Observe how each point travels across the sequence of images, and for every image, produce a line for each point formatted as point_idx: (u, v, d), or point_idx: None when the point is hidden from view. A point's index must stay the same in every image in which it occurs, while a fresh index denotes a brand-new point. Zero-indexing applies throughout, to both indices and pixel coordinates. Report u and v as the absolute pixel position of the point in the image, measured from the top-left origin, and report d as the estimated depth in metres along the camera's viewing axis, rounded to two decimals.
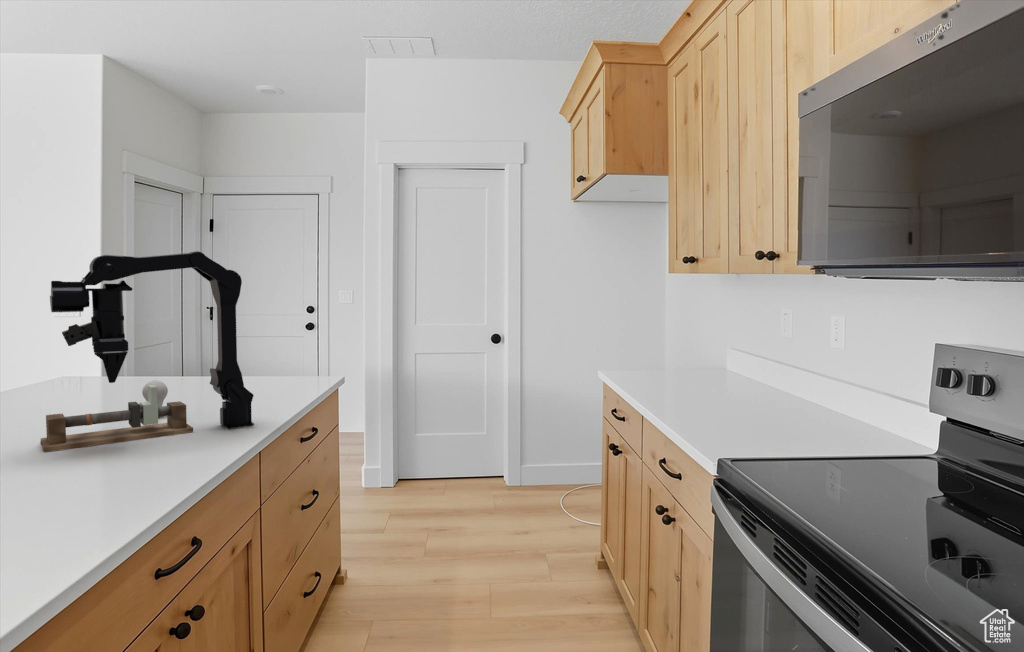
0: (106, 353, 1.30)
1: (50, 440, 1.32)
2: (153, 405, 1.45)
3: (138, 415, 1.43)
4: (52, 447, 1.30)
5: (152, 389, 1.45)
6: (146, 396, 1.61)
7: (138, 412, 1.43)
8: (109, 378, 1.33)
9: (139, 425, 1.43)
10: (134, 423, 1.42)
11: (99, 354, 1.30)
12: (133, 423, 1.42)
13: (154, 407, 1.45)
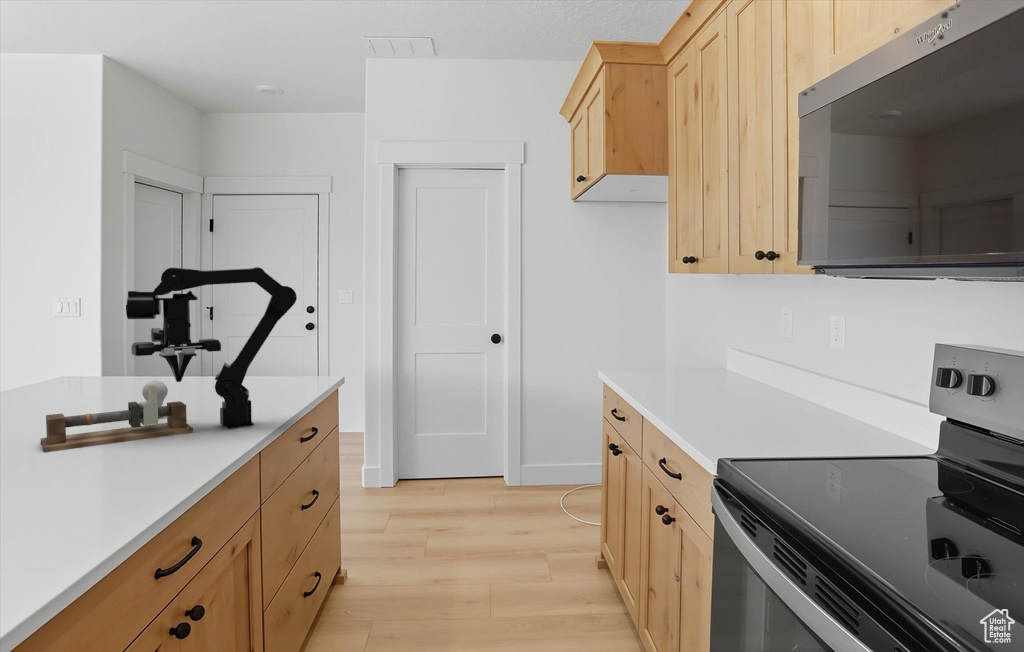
0: (160, 354, 1.48)
1: (50, 440, 1.32)
2: (153, 405, 1.45)
3: (138, 415, 1.43)
4: (52, 447, 1.30)
5: (152, 389, 1.45)
6: (146, 396, 1.61)
7: (138, 412, 1.43)
8: None
9: (139, 425, 1.43)
10: (134, 423, 1.42)
11: (159, 354, 1.49)
12: (133, 423, 1.42)
13: (154, 407, 1.45)
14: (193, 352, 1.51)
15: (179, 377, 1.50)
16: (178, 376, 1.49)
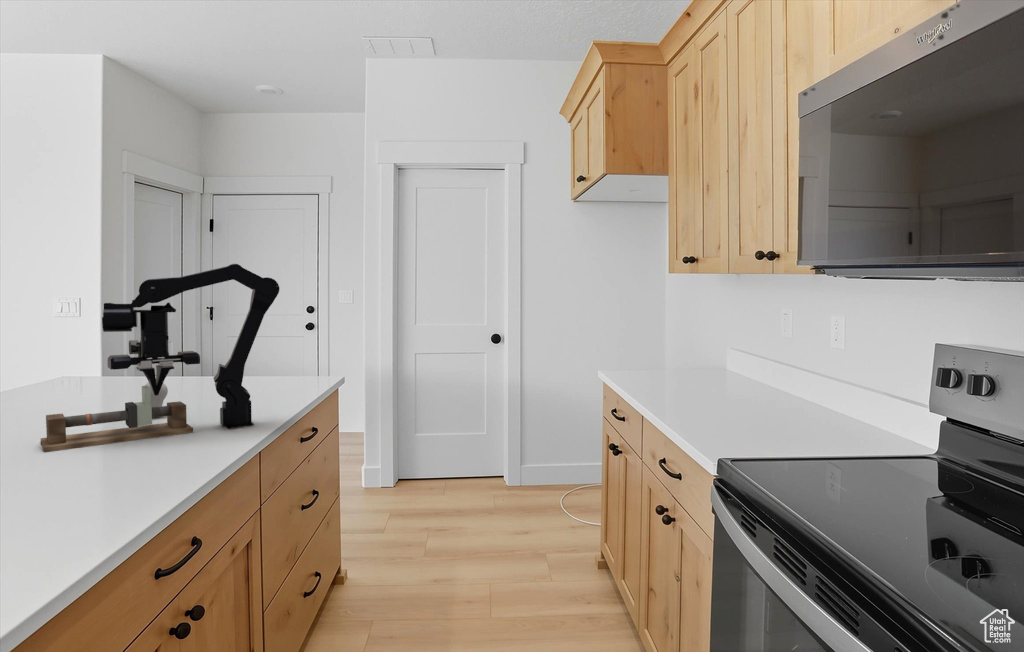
0: (137, 367, 1.45)
1: (50, 440, 1.32)
2: (147, 406, 1.44)
3: (135, 415, 1.42)
4: (52, 447, 1.30)
5: (146, 390, 1.44)
6: None
7: (135, 412, 1.42)
8: None
9: (136, 425, 1.43)
10: (131, 423, 1.42)
11: (136, 367, 1.46)
12: (130, 423, 1.42)
13: (148, 408, 1.44)
14: (171, 365, 1.48)
15: (156, 391, 1.47)
16: (155, 389, 1.46)
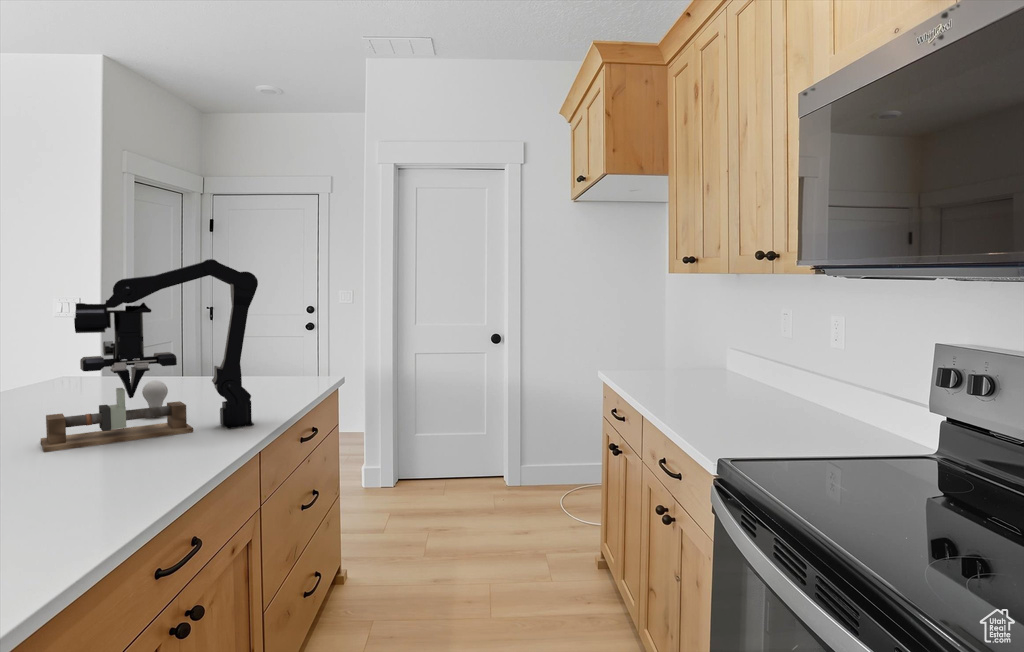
0: (111, 369, 1.42)
1: (50, 440, 1.32)
2: (121, 408, 1.40)
3: (108, 418, 1.39)
4: (52, 447, 1.30)
5: (120, 392, 1.41)
6: (146, 396, 1.61)
7: (108, 415, 1.39)
8: (127, 393, 1.44)
9: (109, 429, 1.39)
10: (104, 426, 1.38)
11: None
12: (103, 427, 1.38)
13: (122, 410, 1.41)
14: (147, 367, 1.44)
15: (131, 393, 1.43)
16: (130, 392, 1.43)
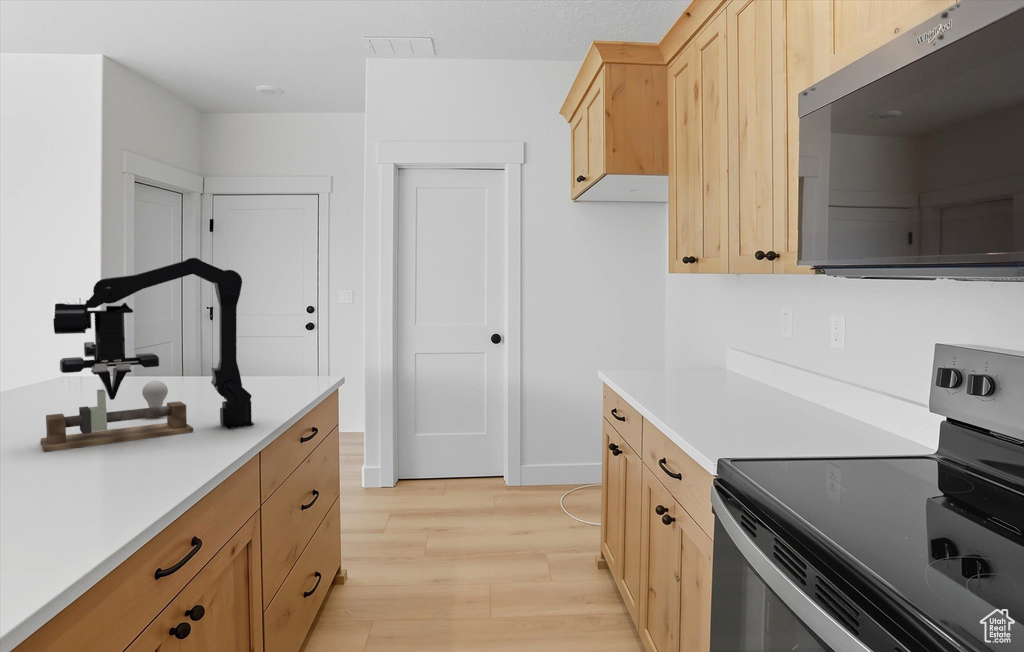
0: (92, 370, 1.39)
1: (50, 440, 1.32)
2: (101, 410, 1.38)
3: (88, 421, 1.36)
4: (52, 447, 1.30)
5: (100, 394, 1.38)
6: (146, 396, 1.61)
7: (88, 417, 1.36)
8: (108, 395, 1.41)
9: (90, 431, 1.37)
10: (84, 429, 1.36)
11: None
12: (83, 429, 1.36)
13: (102, 413, 1.38)
14: (128, 368, 1.42)
15: (112, 395, 1.41)
16: (111, 393, 1.40)
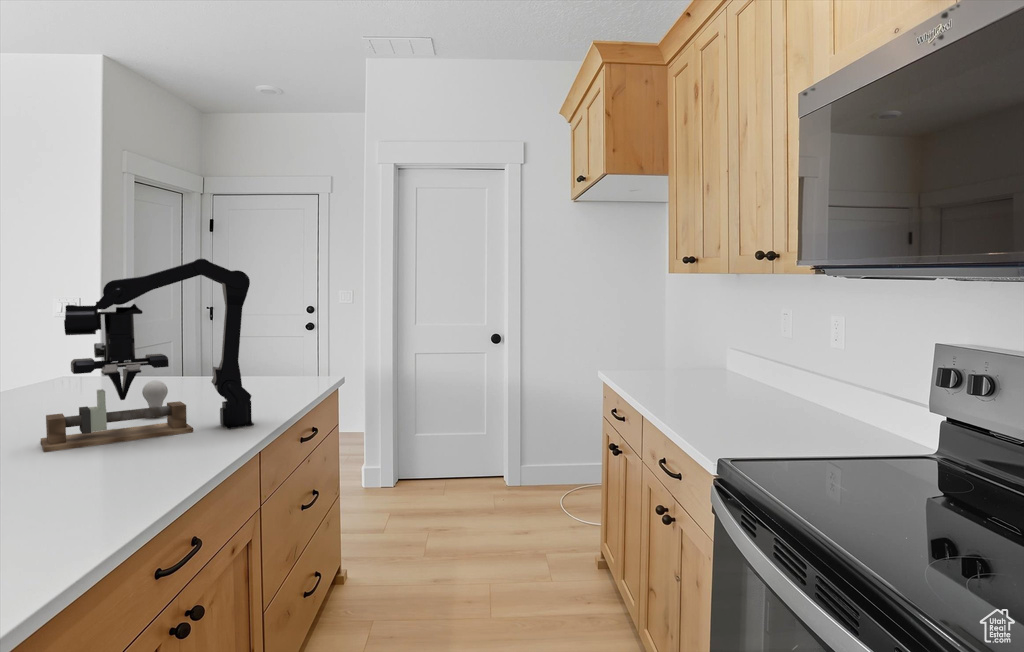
0: (102, 371, 1.40)
1: (50, 440, 1.32)
2: (101, 410, 1.38)
3: (88, 421, 1.36)
4: (52, 447, 1.30)
5: (100, 394, 1.38)
6: (146, 396, 1.61)
7: (88, 417, 1.36)
8: (118, 395, 1.42)
9: (89, 431, 1.37)
10: (84, 429, 1.36)
11: None
12: (83, 429, 1.36)
13: (102, 413, 1.38)
14: (138, 368, 1.43)
15: (122, 395, 1.42)
16: (122, 394, 1.42)
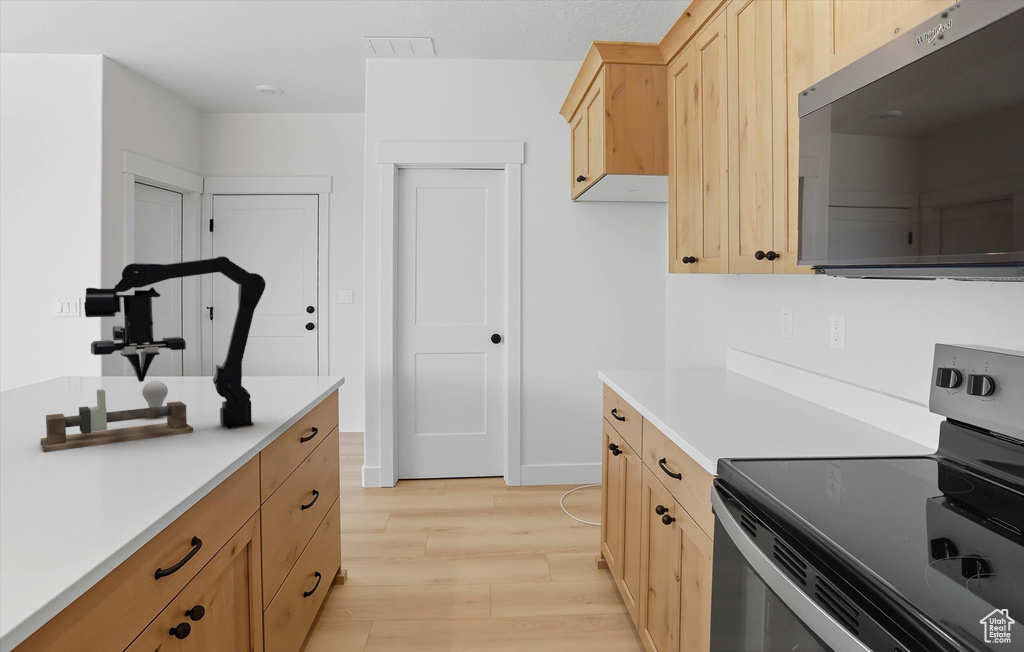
0: (121, 353, 1.43)
1: (50, 440, 1.32)
2: (101, 410, 1.38)
3: (88, 421, 1.36)
4: (52, 447, 1.30)
5: (100, 394, 1.38)
6: (146, 396, 1.61)
7: (88, 417, 1.36)
8: (137, 377, 1.45)
9: (89, 431, 1.37)
10: (84, 429, 1.36)
11: (120, 353, 1.44)
12: (83, 429, 1.36)
13: (102, 413, 1.38)
14: (156, 351, 1.46)
15: (141, 377, 1.45)
16: (140, 376, 1.44)
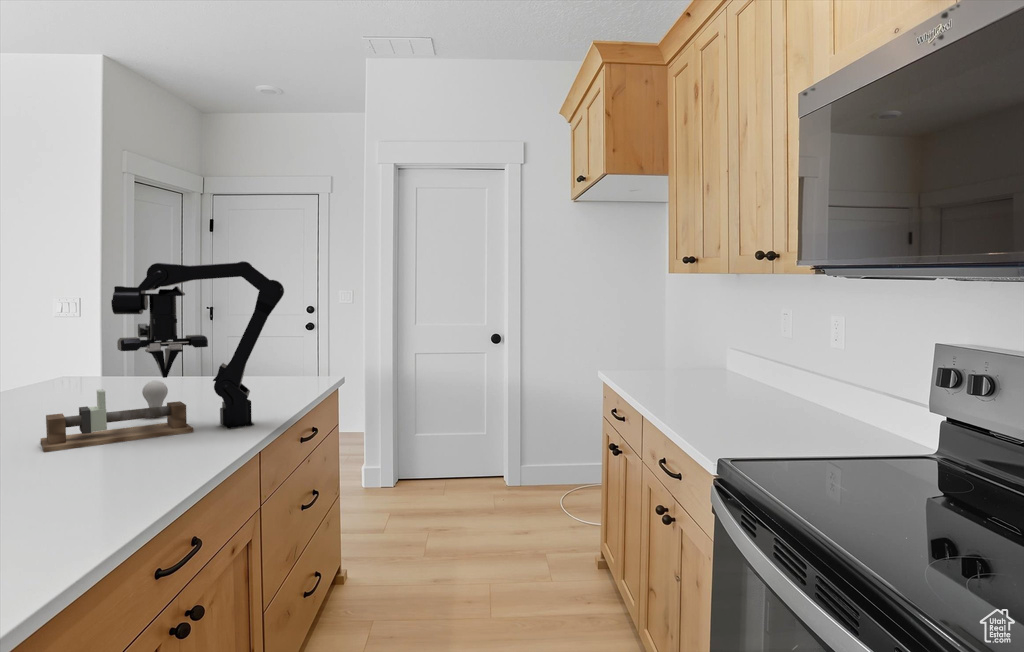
0: (146, 350, 1.48)
1: (50, 440, 1.32)
2: (101, 410, 1.38)
3: (88, 421, 1.36)
4: (52, 447, 1.30)
5: (100, 394, 1.38)
6: (146, 396, 1.61)
7: (88, 417, 1.36)
8: (161, 373, 1.50)
9: (89, 431, 1.37)
10: (84, 429, 1.36)
11: (145, 350, 1.49)
12: (83, 429, 1.36)
13: (102, 413, 1.38)
14: (179, 348, 1.50)
15: (165, 373, 1.49)
16: (164, 372, 1.49)
